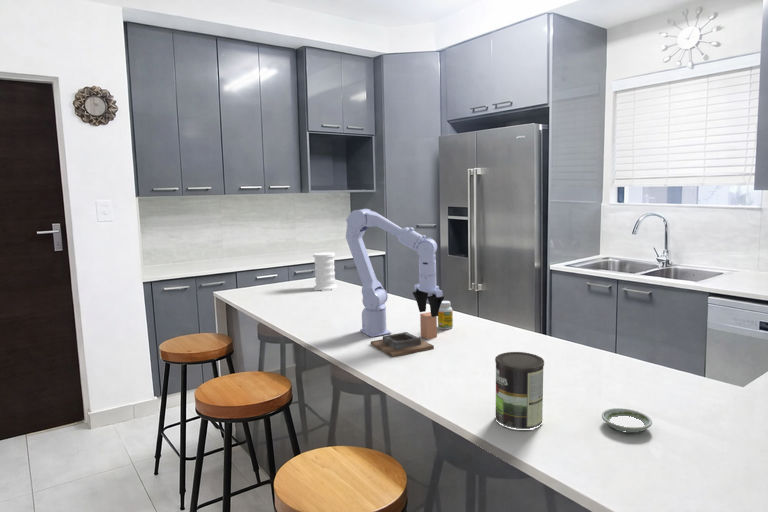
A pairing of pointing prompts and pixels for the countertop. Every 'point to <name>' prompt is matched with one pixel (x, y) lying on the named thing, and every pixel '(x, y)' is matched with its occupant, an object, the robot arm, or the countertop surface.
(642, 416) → the grey-green ring
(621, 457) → the countertop surface
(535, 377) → the coffee can
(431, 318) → the peg
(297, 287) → the countertop surface
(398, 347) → the peg holder
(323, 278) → the decorative container
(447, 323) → the supplement bottle
